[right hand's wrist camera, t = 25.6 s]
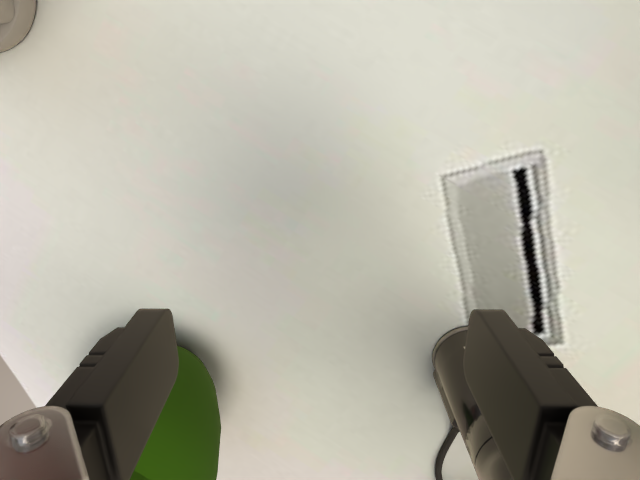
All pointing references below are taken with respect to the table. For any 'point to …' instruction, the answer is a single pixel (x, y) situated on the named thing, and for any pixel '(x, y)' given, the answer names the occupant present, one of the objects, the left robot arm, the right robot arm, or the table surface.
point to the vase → (184, 429)
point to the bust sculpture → (15, 21)
